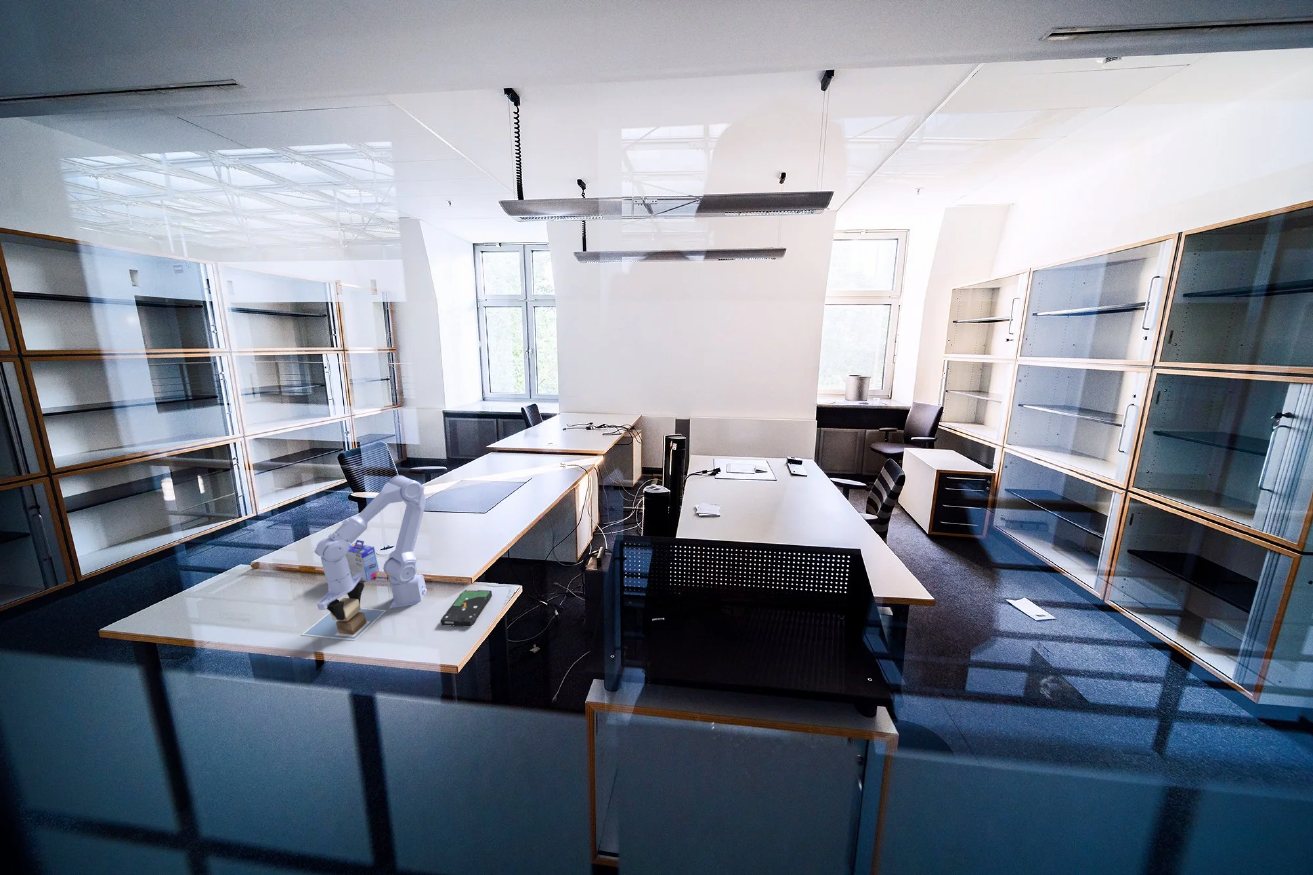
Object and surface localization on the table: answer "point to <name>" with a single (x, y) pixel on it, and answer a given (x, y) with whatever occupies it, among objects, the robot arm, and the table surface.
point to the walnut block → (352, 624)
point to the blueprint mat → (329, 627)
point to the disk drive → (466, 608)
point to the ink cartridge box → (362, 560)
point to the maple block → (349, 608)
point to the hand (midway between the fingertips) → (348, 612)
